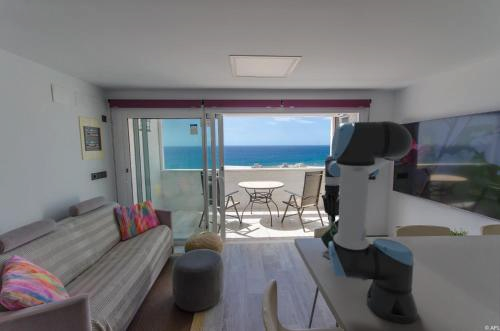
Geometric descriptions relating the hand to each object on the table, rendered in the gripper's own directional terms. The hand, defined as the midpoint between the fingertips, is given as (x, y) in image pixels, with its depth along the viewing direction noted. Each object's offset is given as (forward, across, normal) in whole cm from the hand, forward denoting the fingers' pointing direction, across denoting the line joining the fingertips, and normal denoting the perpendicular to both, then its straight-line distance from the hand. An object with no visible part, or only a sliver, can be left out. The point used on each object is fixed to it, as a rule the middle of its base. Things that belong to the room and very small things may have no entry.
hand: (331, 226), depth 124 cm
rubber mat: (+13, -13, 0) cm, 18 cm away
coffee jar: (+10, +2, 0) cm, 10 cm away
